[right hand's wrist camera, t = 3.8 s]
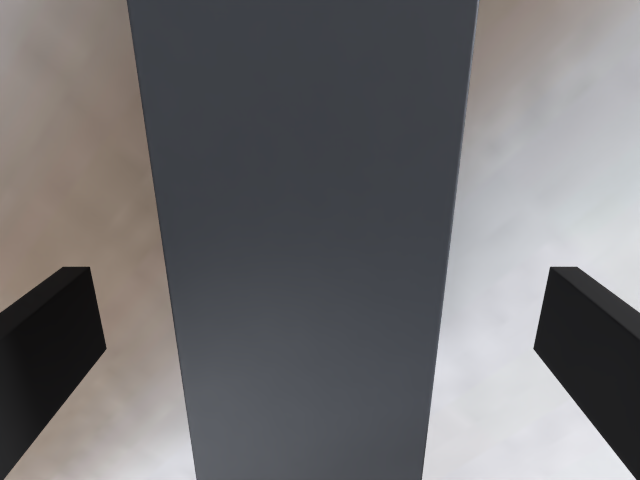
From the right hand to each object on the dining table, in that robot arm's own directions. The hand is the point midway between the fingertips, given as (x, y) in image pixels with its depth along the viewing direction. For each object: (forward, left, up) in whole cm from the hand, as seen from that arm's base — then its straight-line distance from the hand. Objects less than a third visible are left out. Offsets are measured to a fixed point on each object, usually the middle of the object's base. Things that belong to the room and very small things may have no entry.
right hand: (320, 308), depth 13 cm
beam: (-12, +20, -4) cm, 23 cm away
